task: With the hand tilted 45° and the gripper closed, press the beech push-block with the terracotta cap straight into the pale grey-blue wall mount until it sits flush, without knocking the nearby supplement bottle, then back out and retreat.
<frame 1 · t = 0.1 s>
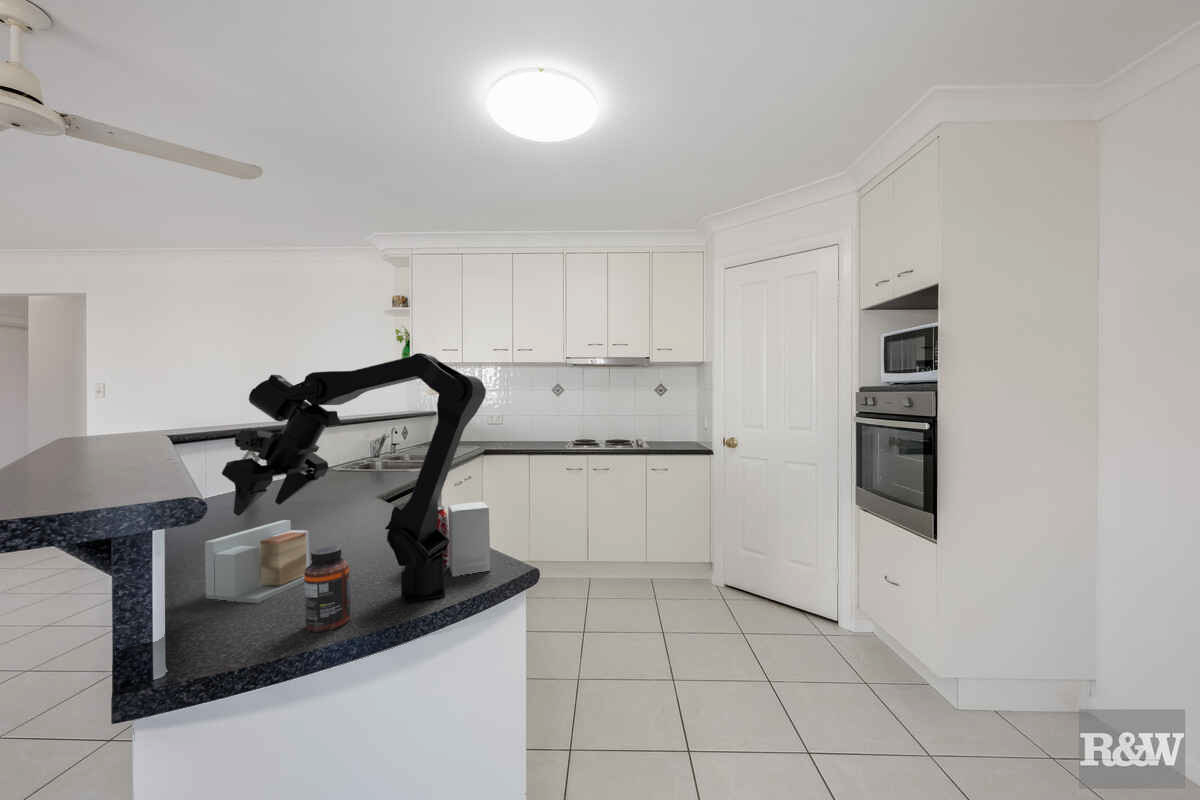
hand: (258, 508, 88), 15 cm above the counter, tool tilted 35°, fingers open, 9 cm apart
supplement bottle: (328, 625, 73), on the counter
mount: (266, 583, 91), on the counter
push block: (284, 557, 90), point 5 cm above the counter, slide at 4.0 cm
soda can: (430, 567, 99), on the counter
supplement box: (469, 570, 97), on the counter
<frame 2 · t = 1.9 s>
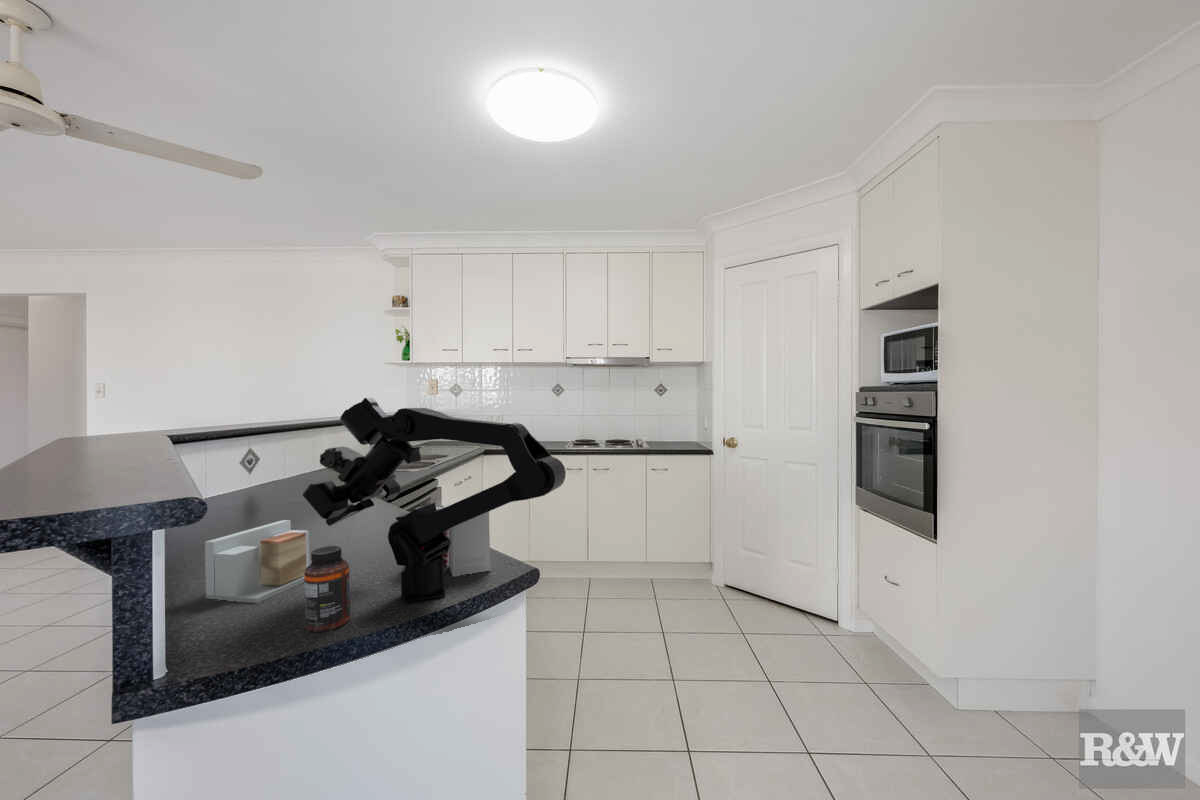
hand: (328, 523, 88), 12 cm above the counter, tool tilted 45°, fingers closed
nothing on the counter moved.
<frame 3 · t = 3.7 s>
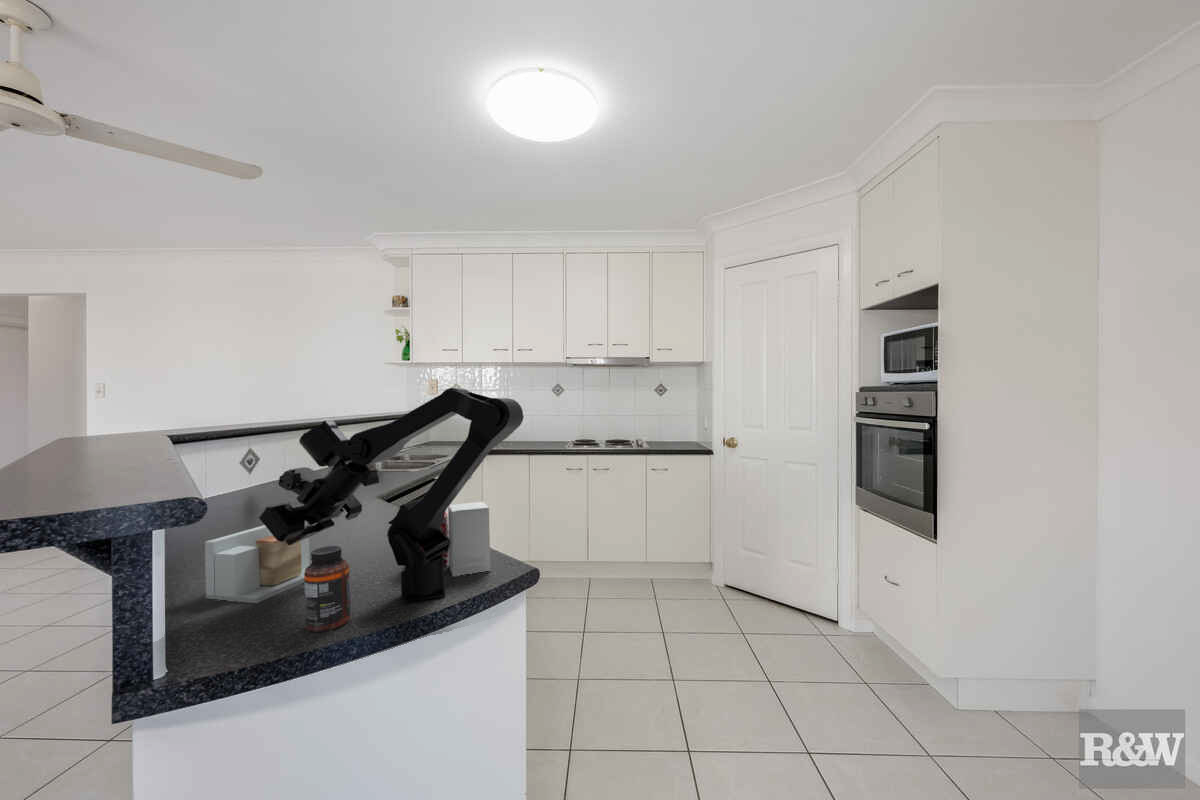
hand: (288, 543, 90), 8 cm above the counter, tool tilted 45°, fingers closed, pressing on push block
push block: (279, 557, 91), point 5 cm above the counter, slide at 2.9 cm, touching gripper
everything else where it was.
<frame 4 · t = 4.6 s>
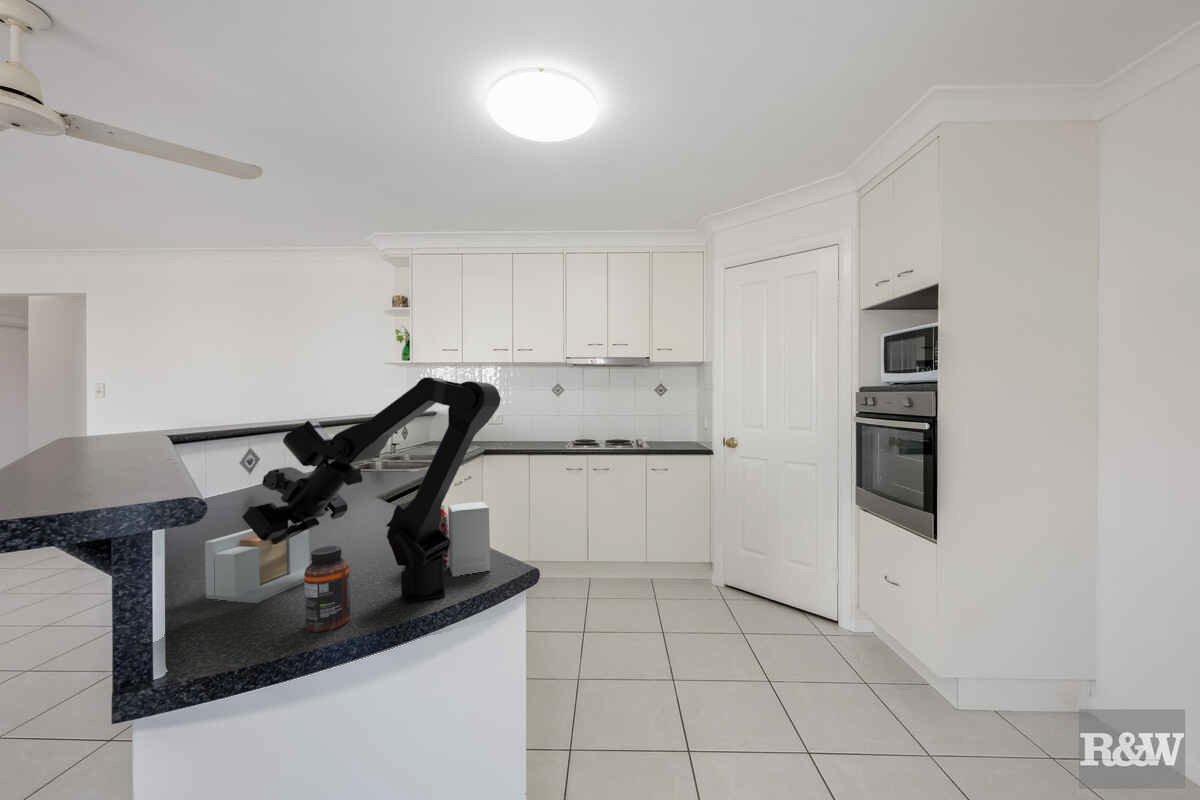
hand: (274, 542, 91), 8 cm above the counter, tool tilted 45°, fingers closed, pressing on push block
push block: (264, 556, 91), point 5 cm above the counter, slide at -0.4 cm, touching gripper
everything else where it was.
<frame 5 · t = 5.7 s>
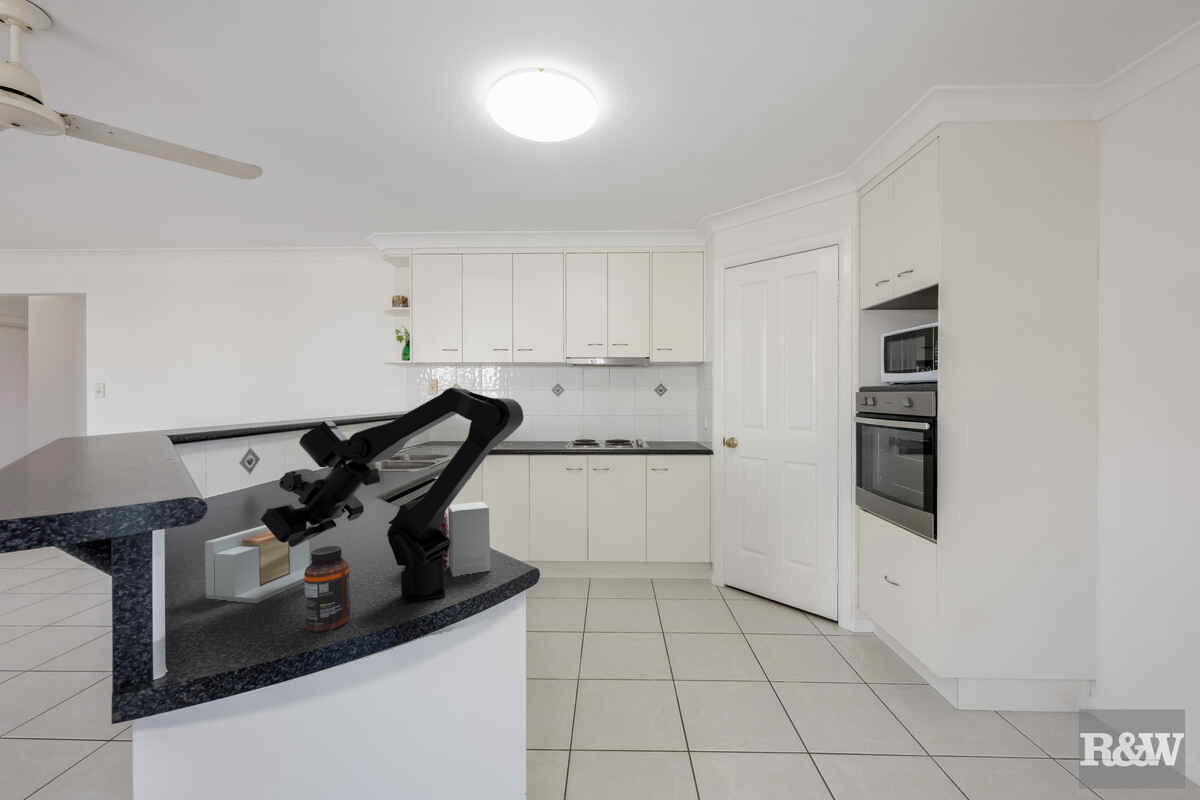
hand: (291, 545, 90), 7 cm above the counter, tool tilted 45°, fingers closed
push block: (266, 556, 91), point 5 cm above the counter, slide at 0.0 cm
everything else where it was.
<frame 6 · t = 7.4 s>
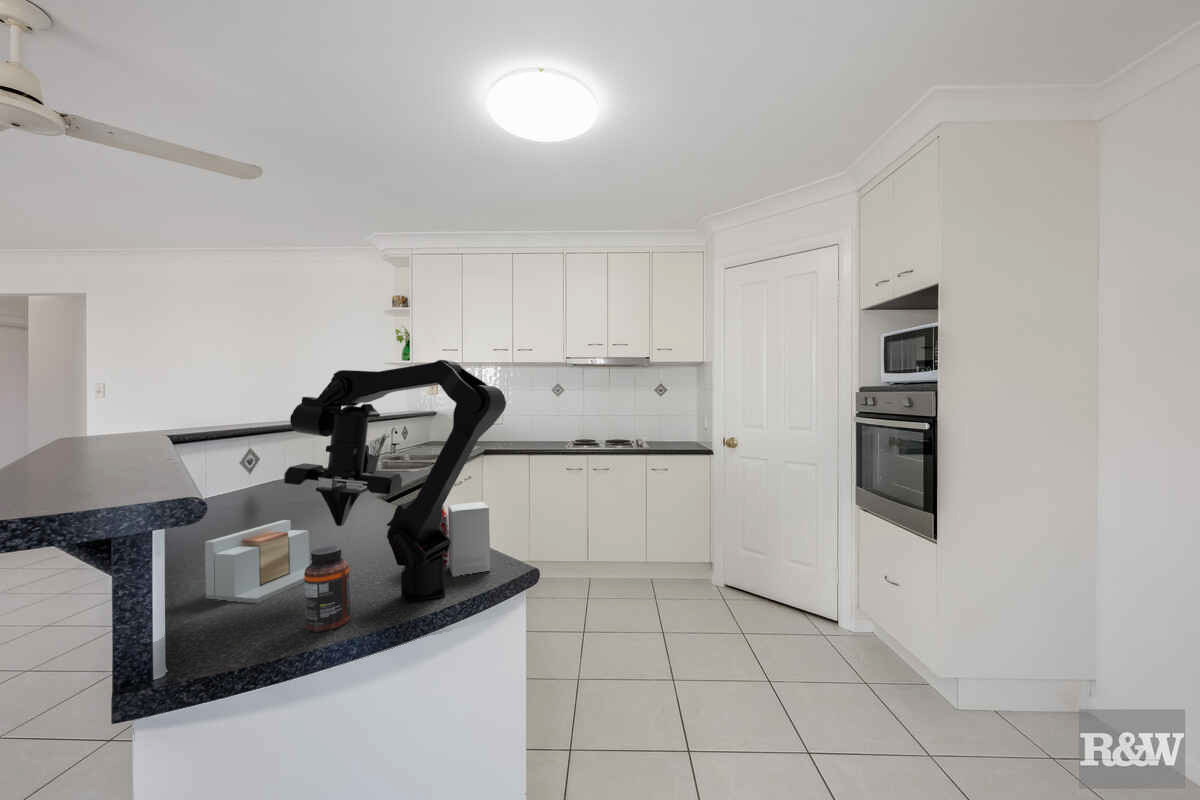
hand: (340, 525, 88), 11 cm above the counter, tool pointing down, fingers closed
nothing on the counter moved.
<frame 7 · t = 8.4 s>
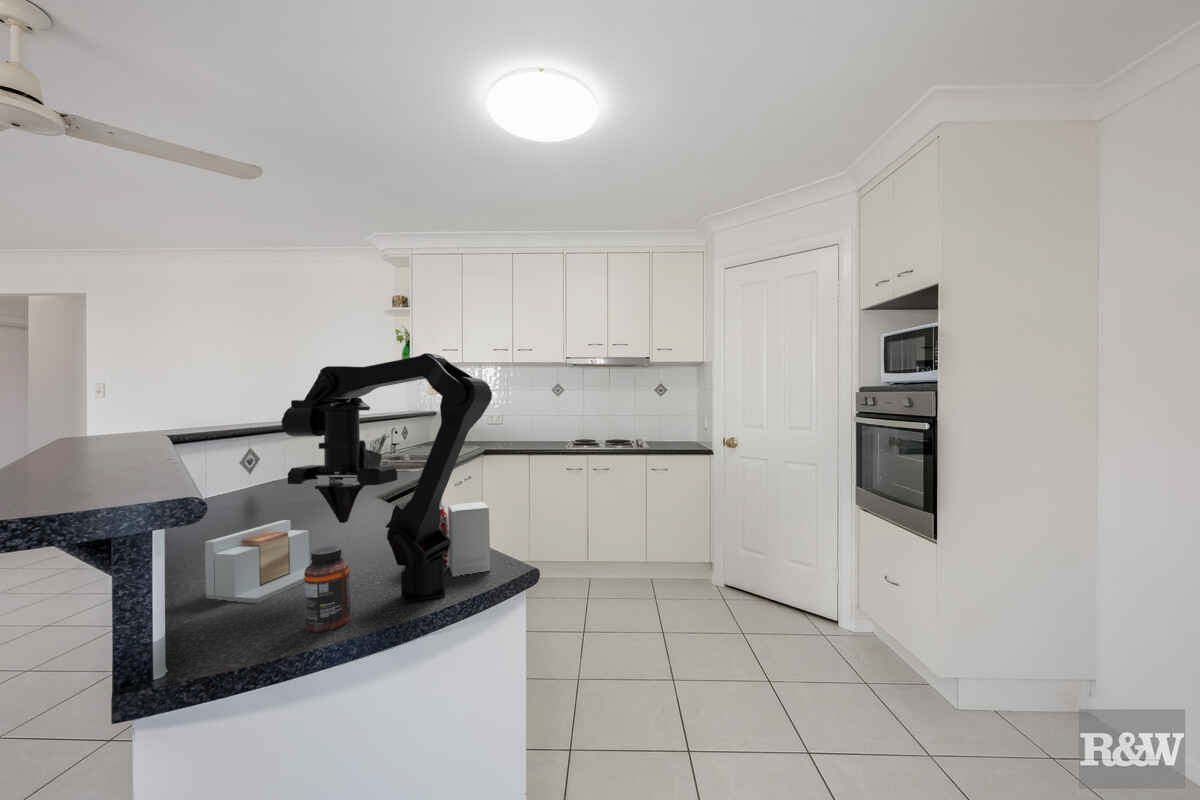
hand: (343, 522, 88), 12 cm above the counter, tool pointing down, fingers closed
nothing on the counter moved.
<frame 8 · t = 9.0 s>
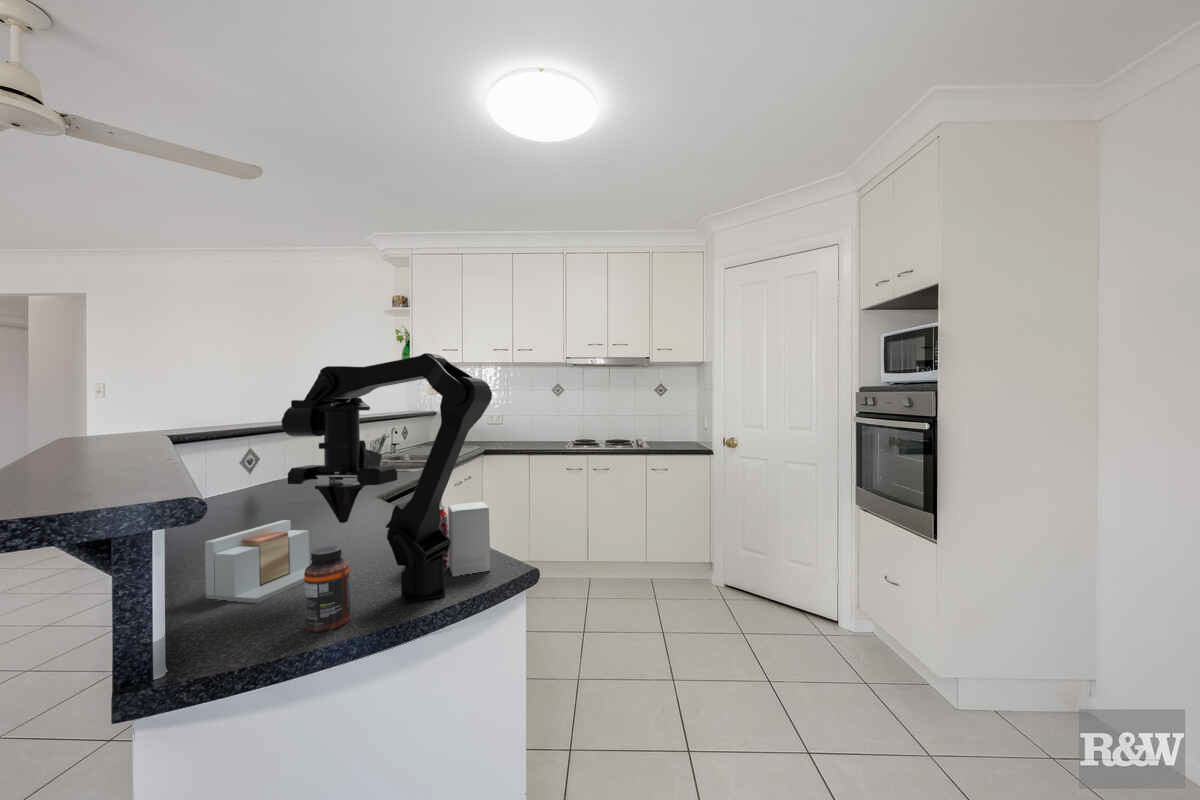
hand: (343, 522, 88), 12 cm above the counter, tool pointing down, fingers closed
nothing on the counter moved.
at the end: push block slide at 0.0 cm; supplement bottle moved 0.2 cm from its start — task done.
